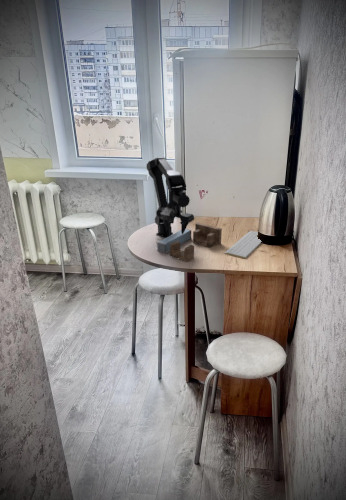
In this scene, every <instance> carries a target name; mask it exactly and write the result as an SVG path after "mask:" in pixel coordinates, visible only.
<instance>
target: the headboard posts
mask: <svg viewBox="0 0 346 500" xmlns="http://www.w3.org/2000/svg"><path fill="white" fill-rule="evenodd" d="M194 229H195V230H194V231H192V234H193V235H192V243H193V244H197V245H201V246H205V247H208V248H212V247H213V246H215V245H217V246H219V245H221V244H222V236H223V235H222V231H223V228H221V227H217V226H213V225H209V224H205V223H200V222H196V223H195V228H194ZM169 256H170V257H171V256H172V258H174V259H178V258H179V259H178V260H181V259H182V261H183V262H190V261H192V260H193V259H195V245H192V244H190V245H188V246H186V247H185V248H184V249H181V244H180V242H179V241H175V242H173V243H171V244H170V250H169Z"/></svg>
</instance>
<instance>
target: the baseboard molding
mask: <svg viewBox="0 0 346 500" xmlns="http://www.w3.org/2000/svg"><path fill="white" fill-rule="evenodd" d="M258 232H259V231H256V230H254V229H251V231H250V230H248V231H247V233H245V234H244V235H242V237H241V238H240V239H238V240H237V241H236V242H235V243H234V244H233V245H232V246H231V247H230V248H228V249H227V250H226V251H224V253H223V254H225V255H228V256H233V257H235V258H236V257H237V258H239V259H244V260H245V259H246V258H248V257H249V255H250V254H251V253H252V252H254V251H255V249H257V247H259V246H260V245H261V244H262V243H263V242H262V241H261V240H260V239H258V237H257V235H258ZM261 242H262V243H261Z"/></svg>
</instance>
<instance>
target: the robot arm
mask: <svg viewBox="0 0 346 500" xmlns="http://www.w3.org/2000/svg"><path fill="white" fill-rule="evenodd" d="M146 170H147V171H148V172H147V173H148V175H149V176H150V177H151V179H152V180H153V184H154V189H155V194H156V198H157V205H158V208H157V209H156V212H155V213H156V214H155V218H154V223H155V224H156V225H157V233H156V234H155V235H157V236H160V237H164V238H167V237H169V236H171V235H173V234H174V233H173V232H172V224H174V222H175V218H178V219H179V220H180V222H179V223H180V226H181V233H182V234H183V233H184V231H185V229H187V227H188V225H189V223H192V222H193V221H194V220H195V215H194V214H193V213H188V212H186V213H184V214H182V213H183V209H182V208H186V207H187V206H189V204H190V201H191V199H190V197H189V196H188V195H187V194H186V193H187V192H186V191H187V183H186V180H185V179H184V178H185V177H184V176H183V175H182V174H181V172H179V171H176V170H174V169H173V168H172V166H171V165H170V163H169V162H168V161H167V158H166V157H164V156H160V157H159V156H158V157H155V158H154V159H151V160H149V161H148V162H147V163H146ZM163 175H164V177H165V184H166V186H167V190H168V197H167V193H166V189H165V184H164V179H163V178H164V177H163ZM167 198H168V199H167Z"/></svg>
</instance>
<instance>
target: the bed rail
mask: <svg viewBox="0 0 346 500" xmlns="http://www.w3.org/2000/svg"><path fill="white" fill-rule="evenodd" d="M190 239H192V229H188V228H186V229H185V231H184V233H183V234H182V233H181V230H179V231H176V232H175V233H173V234H171V235H169V236H167V237H164V238H163V239H162V240H160V241H157V246H156V247H157V252H159V253H163V254H166V253H167V251H168V252H170V244H171V243H173V242H175V241H179V242H180V245H181V244H183V243H184V242H187V241H188V240H190Z"/></svg>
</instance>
